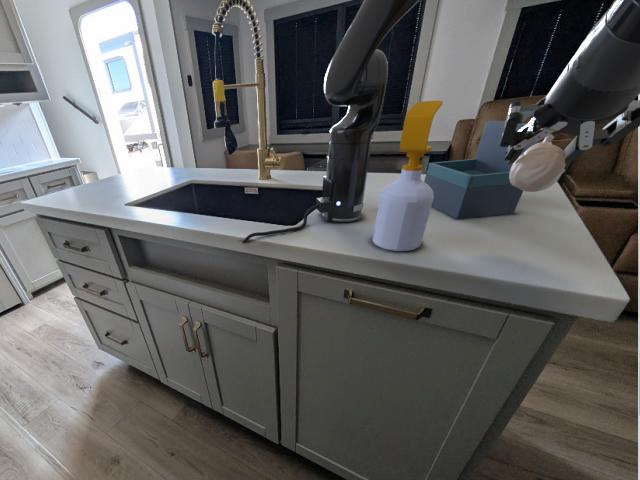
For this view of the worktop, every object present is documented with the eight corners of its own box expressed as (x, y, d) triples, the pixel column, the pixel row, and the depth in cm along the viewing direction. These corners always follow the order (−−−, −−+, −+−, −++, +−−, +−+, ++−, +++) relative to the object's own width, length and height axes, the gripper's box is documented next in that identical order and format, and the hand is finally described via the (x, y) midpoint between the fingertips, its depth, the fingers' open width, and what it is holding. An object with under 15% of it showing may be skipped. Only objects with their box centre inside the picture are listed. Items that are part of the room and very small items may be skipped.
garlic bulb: (563, 191, 47) (593, 131, 42) (538, 199, 45) (567, 137, 40) (515, 182, 52) (537, 129, 47) (491, 189, 50) (512, 133, 45)
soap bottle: (426, 239, 64) (466, 98, 50) (411, 256, 58) (451, 102, 45) (382, 231, 69) (407, 101, 55) (365, 245, 64) (388, 105, 50)
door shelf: (456, 219, 72) (485, 131, 62) (419, 200, 85) (438, 125, 75) (513, 213, 72) (551, 125, 62) (467, 195, 85) (493, 120, 75)
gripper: (728, 14, 30) (602, 136, 45) (537, 36, 35) (483, 137, 51) (722, 83, 29) (596, 183, 44) (527, 93, 34) (475, 179, 50)
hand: (536, 158), depth 47 cm, fingers closed on garlic bulb, 5 cm apart
